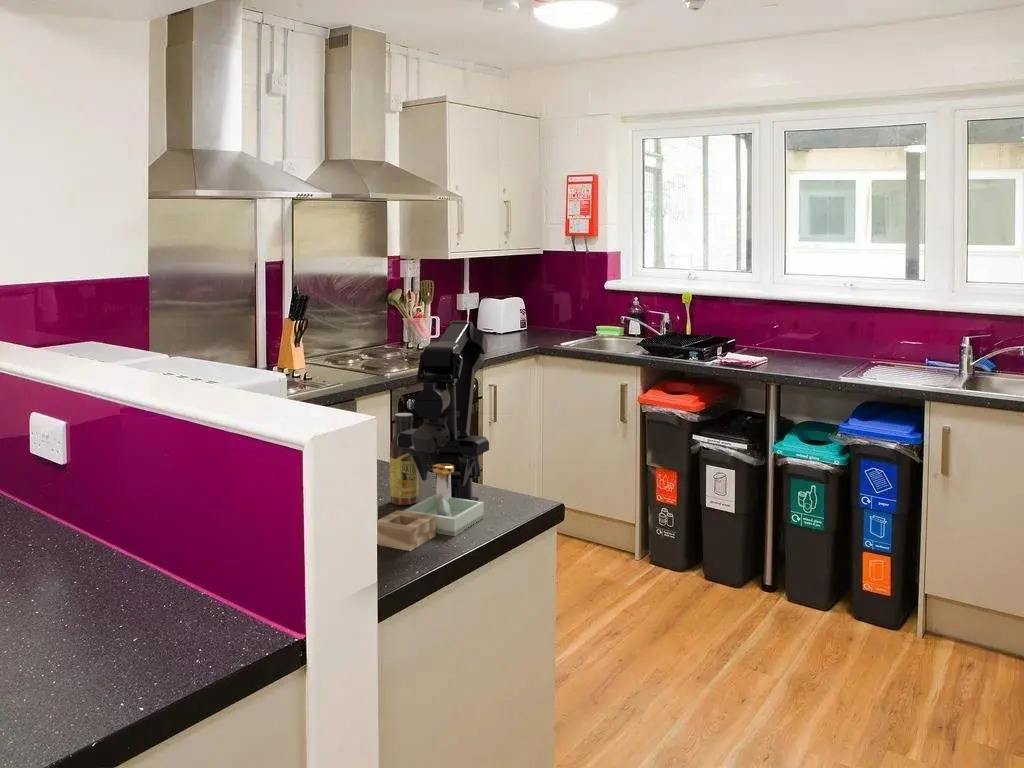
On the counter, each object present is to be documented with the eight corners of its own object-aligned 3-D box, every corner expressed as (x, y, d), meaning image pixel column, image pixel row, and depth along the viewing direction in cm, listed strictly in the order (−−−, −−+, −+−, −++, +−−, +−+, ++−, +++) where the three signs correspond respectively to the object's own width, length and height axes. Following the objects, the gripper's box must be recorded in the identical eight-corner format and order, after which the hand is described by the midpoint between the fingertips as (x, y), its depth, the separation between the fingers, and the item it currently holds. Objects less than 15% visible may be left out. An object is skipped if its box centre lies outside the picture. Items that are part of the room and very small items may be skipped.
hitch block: (397, 529, 179) (396, 510, 178) (435, 536, 175) (435, 516, 174) (371, 543, 171) (370, 523, 170) (410, 551, 167) (409, 530, 166)
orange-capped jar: (440, 513, 185) (439, 462, 183) (459, 516, 183) (457, 464, 181) (429, 519, 182) (428, 467, 180) (448, 522, 180) (446, 470, 178)
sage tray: (434, 510, 191) (434, 494, 190) (484, 518, 185) (483, 502, 185) (403, 527, 180) (403, 510, 179) (454, 536, 175) (454, 519, 174)
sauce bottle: (404, 508, 192) (402, 418, 188) (384, 503, 196) (381, 415, 192) (425, 501, 197) (423, 413, 194) (405, 496, 201) (402, 410, 197)
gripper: (380, 411, 175) (382, 487, 178) (462, 420, 167) (463, 500, 170) (411, 401, 185) (413, 473, 188) (489, 409, 177) (490, 484, 180)
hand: (443, 482), depth 181 cm, fingers open, 9 cm apart
